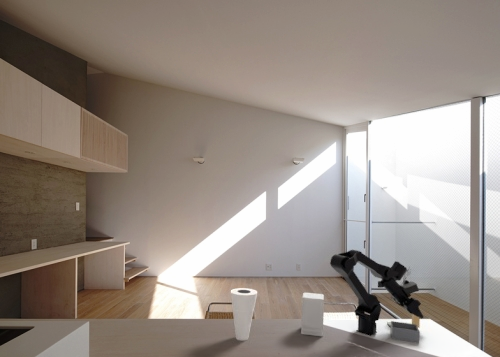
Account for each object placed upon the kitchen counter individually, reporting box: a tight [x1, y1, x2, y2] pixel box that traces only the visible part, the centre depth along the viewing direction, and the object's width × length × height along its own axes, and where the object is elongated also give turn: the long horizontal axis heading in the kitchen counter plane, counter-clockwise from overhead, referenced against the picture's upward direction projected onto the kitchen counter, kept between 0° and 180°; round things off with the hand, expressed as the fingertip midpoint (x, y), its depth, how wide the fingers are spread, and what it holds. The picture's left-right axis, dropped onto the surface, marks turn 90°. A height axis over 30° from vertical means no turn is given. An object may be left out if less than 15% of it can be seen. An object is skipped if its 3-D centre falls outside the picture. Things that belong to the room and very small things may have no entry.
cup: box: [230, 287, 258, 342], centre depth 138 cm, size 11×11×18 cm
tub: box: [390, 320, 420, 344], centre depth 145 cm, size 10×8×5 cm
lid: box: [386, 314, 421, 329], centre depth 156 cm, size 12×8×8 cm
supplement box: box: [300, 292, 325, 337], centre depth 148 cm, size 9×9×15 cm
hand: (418, 314), depth 156 cm, fingers open, 8 cm apart
